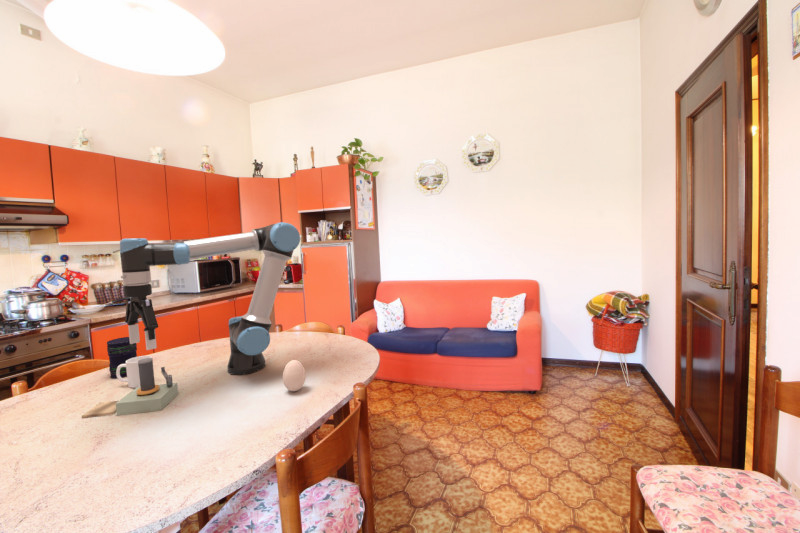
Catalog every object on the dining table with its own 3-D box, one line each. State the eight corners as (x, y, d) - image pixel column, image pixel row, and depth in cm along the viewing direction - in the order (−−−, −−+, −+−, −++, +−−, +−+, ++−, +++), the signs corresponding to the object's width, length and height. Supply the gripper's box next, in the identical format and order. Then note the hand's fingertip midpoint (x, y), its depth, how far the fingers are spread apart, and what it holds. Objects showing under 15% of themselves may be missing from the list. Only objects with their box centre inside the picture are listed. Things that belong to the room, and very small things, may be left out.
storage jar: (104, 377, 146) (100, 342, 144) (130, 368, 155) (126, 335, 153) (119, 380, 142) (115, 344, 141) (144, 371, 151) (141, 337, 150)
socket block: (178, 393, 127) (177, 382, 127) (161, 410, 115) (160, 398, 114) (138, 397, 125) (137, 386, 125) (116, 415, 112) (115, 403, 112)
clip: (173, 385, 123) (172, 375, 123) (167, 387, 122) (166, 376, 122) (166, 376, 133) (165, 366, 132) (160, 377, 132) (159, 367, 131)
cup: (149, 386, 135) (146, 361, 134) (112, 391, 131) (109, 365, 130) (157, 378, 142) (155, 354, 142) (122, 382, 139) (120, 358, 138)
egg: (310, 389, 127) (308, 359, 126) (290, 397, 121) (288, 366, 120) (299, 384, 132) (297, 355, 131) (279, 391, 126) (277, 361, 125)
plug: (164, 398, 124) (160, 355, 122) (155, 406, 117) (150, 362, 116) (144, 400, 122) (139, 357, 121) (134, 409, 116) (129, 364, 115)
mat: (129, 401, 122) (129, 399, 122) (113, 414, 113) (113, 412, 113) (99, 404, 120) (99, 402, 120) (81, 418, 111) (81, 415, 111)
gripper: (110, 283, 120) (115, 343, 122) (139, 287, 106) (145, 355, 108) (135, 281, 126) (140, 338, 128) (166, 284, 112) (172, 348, 114)
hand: (142, 345), depth 118 cm, fingers open, 13 cm apart
